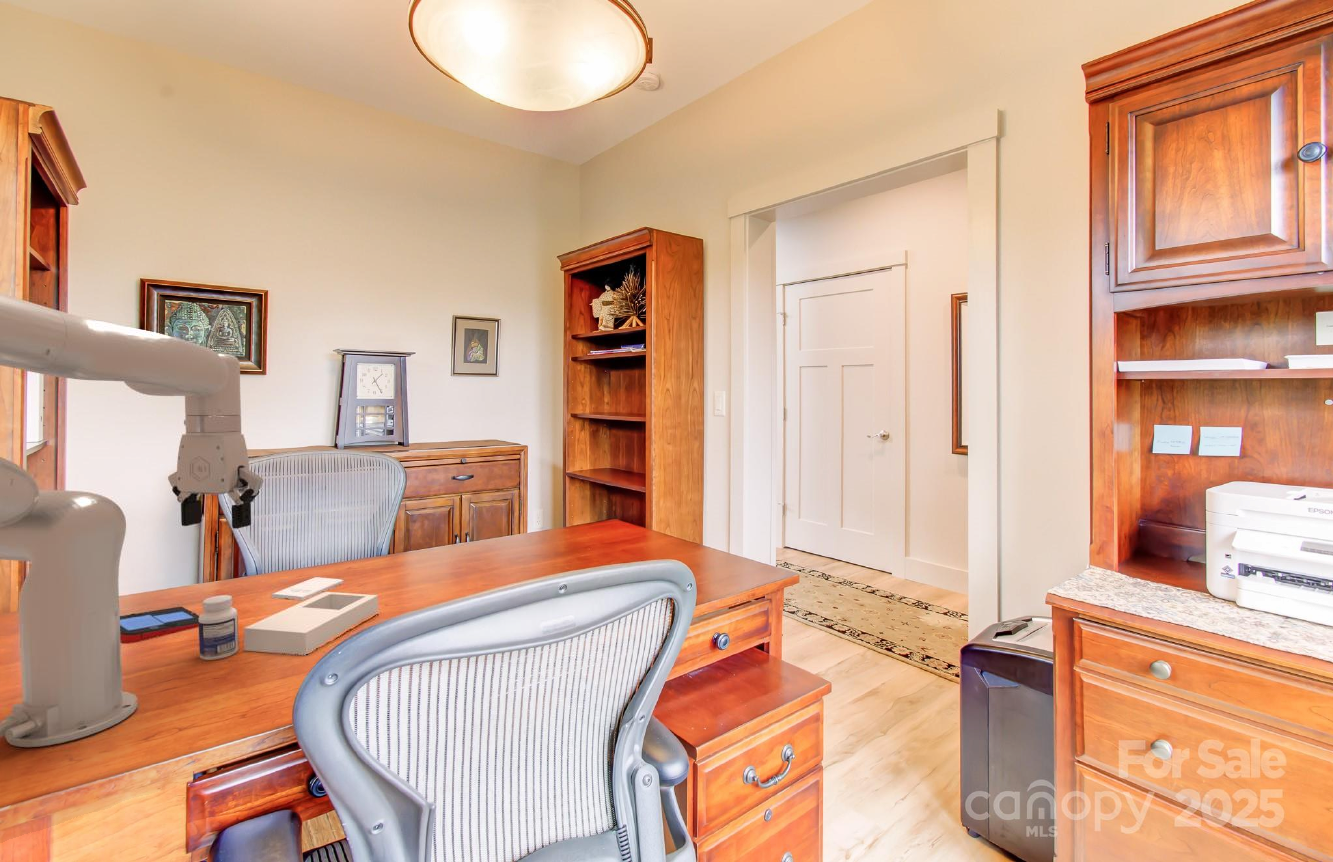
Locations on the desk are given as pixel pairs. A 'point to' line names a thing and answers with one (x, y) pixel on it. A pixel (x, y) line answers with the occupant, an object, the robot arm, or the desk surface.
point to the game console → (156, 623)
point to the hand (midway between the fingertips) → (216, 525)
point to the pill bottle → (218, 628)
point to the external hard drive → (307, 588)
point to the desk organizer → (309, 623)
